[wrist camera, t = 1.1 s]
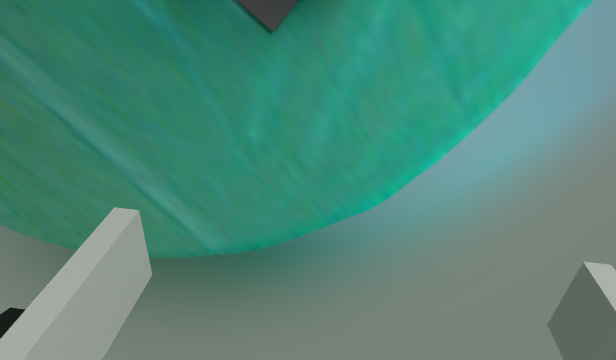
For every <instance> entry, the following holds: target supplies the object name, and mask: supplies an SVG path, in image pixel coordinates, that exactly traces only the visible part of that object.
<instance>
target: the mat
mask: <svg viewBox="0 0 616 360" xmlns="http://www.w3.org/2000/svg"><path fill="white" fill-rule="evenodd" d="M238 1H239V2H240V3H241V4H242V5H243V6H244V7H245V8H247V9H248V10H249V11H250V12H251V13H252V14H253V15H254V16H256V17H257V18H258V19H259V20H260V21H261V22H262V23H263V24H265V25H266V26H267V27H268V28H269V29H270V30H271V31H272V32H274V30H275V29H276V28H277V27H278V25H279V24H280V23H281V21H282V20H283V19H284V18H285V16H286V15H287V14H288V12H289V11H290V10H291V9H292V7H293V6H294V5H295V3H296V2H297V1H298V0H238Z"/></svg>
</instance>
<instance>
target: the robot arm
mask: <svg viewBox="0 0 616 360" xmlns="http://www.w3.org/2000/svg"><path fill="white" fill-rule="evenodd" d="M151 276H152V272H151V267H150V262H149V257H148V252H147V248H146V243H145V238H144V233H143V228H142V224H141V219H140V214H139V210H132V209H123V208H114V209H113V210H112V211H111V212H110V213H109V215H108V216H107V217H106V218H105V219H104V220H103V221H102V223H101V224H100V225H99V226H98V227H97V228H96V230H95V231H94V232H93V233H92V234H91V235H90V236H89V238H88V239H87V240H86V241H85V242H84V243H83V244H82V246H81V247H80V248H79V249H78V250H77V252H76V253H75V254H74V255H73V256H72V257H71V258H70V259H69V261H68V262H67V263H66V264H65V265H64V266H63V268H62V269H61V270H60V271H59V272H58V273H57V275H56V276H55V277H54V278H53V279H52V280H51V281H50V282H49V284H48V285H47V286H46V287H45V288H44V289H43V291H42V292H41V293H40V294H39V295H38V296H37V297H36V299H35V300H34V301H33V302H32V303H31V305H30V306H29V307H28V308H27V309H26V310H24V309H16V308H9V309H8V310H6V311H5V312H3V313H2V314H0V360H102V358H103V357H104V355H105V353H106V352H107V350H108V348H109V347H110V345H111V343H112V342H113V340H114V338H115V337H116V335H117V333H118V332H119V330H120V328H121V326H122V324H123V323H124V321H125V320H126V318H127V316H128V315H129V313H130V311H131V309H132V308H133V306H134V305H135V303H136V301H137V300H138V298H139V296H140V294H141V293H142V291H143V289H144V288H145V286H146V284H147V283H148V281H149V279H150V278H151ZM547 325H548V327H549V329H550V332H551V334H552V336H553V338H554V340H555V342H556V344H557V346H558V349H559V351H560V353H561V355H562V357H563V359H564V360H616V271H615V270H614V268H613V267H612V266H611V265H607V264H598V263H589V262H583V263H582V265H581V267H580V268H579V270H578V272H577V274H576V276H575V277H574V279H573V281H572V282H571V284H570V286H569V288H568V289H567V291H566V293H565V295H564V296H563V298H562V300H561V302H560V303H559V305H558V307H557V309H556V310H555V313H554V314H553V316H552V317H551V319H550V321H549V323H548V324H547Z"/></svg>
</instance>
